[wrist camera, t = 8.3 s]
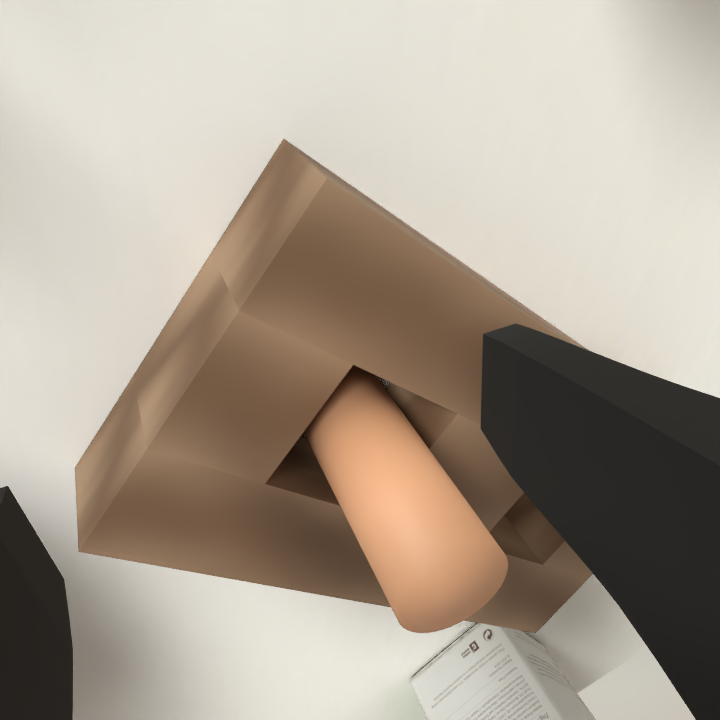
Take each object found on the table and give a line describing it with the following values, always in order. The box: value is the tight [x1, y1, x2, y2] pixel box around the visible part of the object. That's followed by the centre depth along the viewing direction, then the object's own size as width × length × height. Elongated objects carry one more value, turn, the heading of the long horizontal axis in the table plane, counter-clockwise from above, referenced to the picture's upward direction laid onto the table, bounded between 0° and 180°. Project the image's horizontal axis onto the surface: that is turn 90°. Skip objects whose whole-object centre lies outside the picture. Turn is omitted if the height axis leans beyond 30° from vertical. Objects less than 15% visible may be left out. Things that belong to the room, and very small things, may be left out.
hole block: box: [75, 139, 593, 633], centre depth 24 cm, size 12×22×4 cm, turn 51°
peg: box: [304, 365, 508, 633], centre depth 19 cm, size 3×3×9 cm
